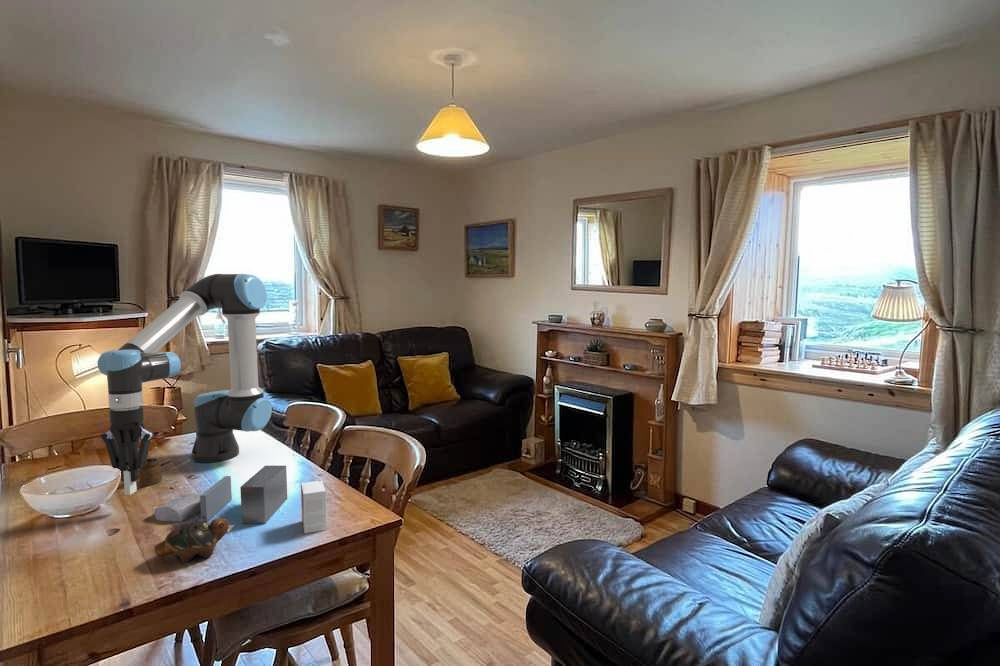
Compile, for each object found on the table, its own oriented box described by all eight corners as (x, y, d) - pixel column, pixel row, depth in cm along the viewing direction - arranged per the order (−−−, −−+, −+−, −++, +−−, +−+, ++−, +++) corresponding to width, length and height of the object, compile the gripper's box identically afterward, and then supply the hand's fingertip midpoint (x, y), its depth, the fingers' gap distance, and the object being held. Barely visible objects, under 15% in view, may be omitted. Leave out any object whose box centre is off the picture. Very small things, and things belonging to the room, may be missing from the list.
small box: (301, 521, 145) (300, 482, 144) (323, 517, 147) (322, 479, 146) (303, 534, 137) (302, 494, 136) (327, 530, 140) (325, 490, 138)
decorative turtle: (234, 554, 127) (230, 523, 126) (157, 578, 119) (152, 544, 118) (228, 536, 135) (224, 506, 134) (156, 556, 127) (151, 525, 126)
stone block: (151, 527, 145) (183, 523, 143) (147, 509, 145) (179, 505, 143) (185, 509, 157) (215, 505, 155) (181, 493, 156) (211, 489, 154)
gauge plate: (226, 499, 157) (225, 475, 157) (231, 499, 157) (230, 475, 157) (191, 530, 138) (189, 503, 138) (196, 530, 138) (195, 503, 138)
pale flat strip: (195, 526, 141) (195, 524, 141) (234, 526, 141) (234, 524, 141) (188, 532, 138) (188, 530, 138) (228, 532, 138) (228, 530, 138)
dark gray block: (266, 498, 159) (265, 465, 158) (287, 498, 159) (286, 465, 158) (241, 523, 143) (240, 487, 142) (265, 523, 143) (263, 486, 142)
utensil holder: (159, 484, 169) (157, 446, 168) (135, 487, 167) (133, 448, 165) (164, 477, 174) (162, 441, 173) (141, 480, 172) (138, 443, 171)
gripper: (91, 410, 143) (96, 498, 145) (142, 411, 143) (146, 498, 145) (111, 404, 150) (115, 487, 152) (159, 404, 151) (163, 487, 153)
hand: (130, 492), depth 149 cm, fingers closed
